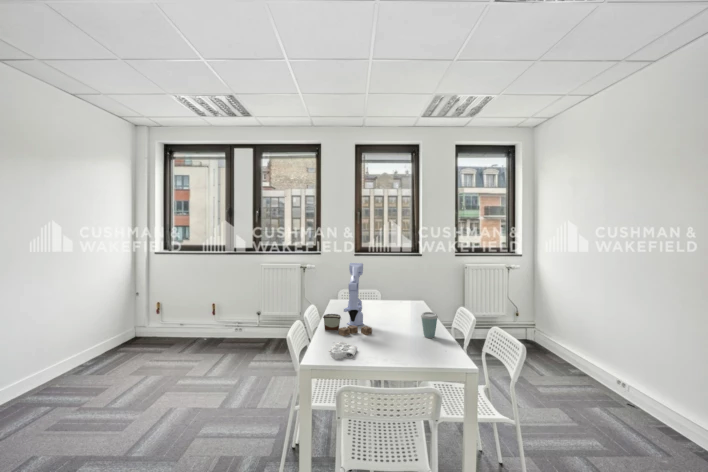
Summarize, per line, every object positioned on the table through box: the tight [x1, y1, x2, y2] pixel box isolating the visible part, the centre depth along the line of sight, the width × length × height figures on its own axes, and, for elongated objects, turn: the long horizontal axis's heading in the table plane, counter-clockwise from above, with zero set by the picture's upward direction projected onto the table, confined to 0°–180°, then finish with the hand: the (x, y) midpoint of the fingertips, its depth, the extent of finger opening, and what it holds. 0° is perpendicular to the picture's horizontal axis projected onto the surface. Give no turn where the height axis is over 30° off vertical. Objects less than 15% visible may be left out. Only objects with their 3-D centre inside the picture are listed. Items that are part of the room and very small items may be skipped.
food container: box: [322, 313, 342, 332], centre depth 228 cm, size 12×6×10 cm, turn 84°
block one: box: [360, 325, 373, 336], centre depth 222 cm, size 5×5×4 cm
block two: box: [338, 326, 350, 337], centre depth 218 cm, size 5×5×4 cm
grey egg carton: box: [328, 341, 358, 360], centre depth 187 cm, size 3×18×15 cm
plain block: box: [346, 325, 359, 335], centre depth 223 cm, size 5×5×4 cm
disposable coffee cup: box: [420, 311, 438, 339], centre depth 218 cm, size 11×11×15 cm
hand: (352, 321), depth 223 cm, fingers closed
